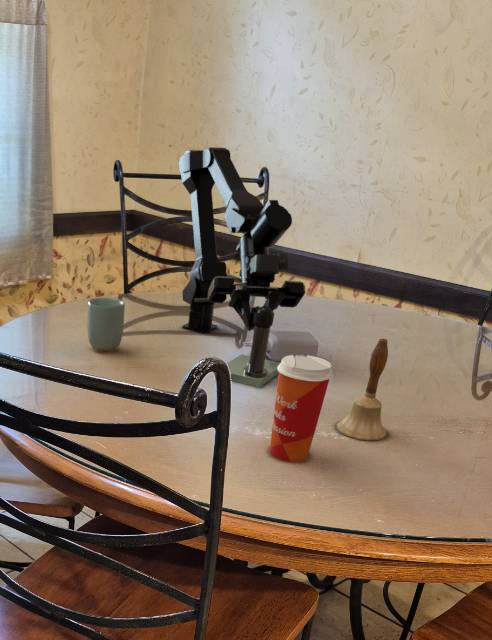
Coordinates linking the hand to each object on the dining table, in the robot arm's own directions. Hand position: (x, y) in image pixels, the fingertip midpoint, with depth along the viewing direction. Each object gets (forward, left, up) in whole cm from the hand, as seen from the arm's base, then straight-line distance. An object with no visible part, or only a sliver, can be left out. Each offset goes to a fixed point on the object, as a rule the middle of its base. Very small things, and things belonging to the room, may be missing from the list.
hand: (258, 330), depth 142 cm
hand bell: (+16, +27, -9) cm, 33 cm away
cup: (+6, -32, -9) cm, 34 cm away
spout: (+2, +1, 0) cm, 2 cm away
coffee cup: (+33, +20, -9) cm, 40 cm away
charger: (-14, 0, -9) cm, 16 cm away
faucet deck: (+1, 0, -9) cm, 9 cm away
